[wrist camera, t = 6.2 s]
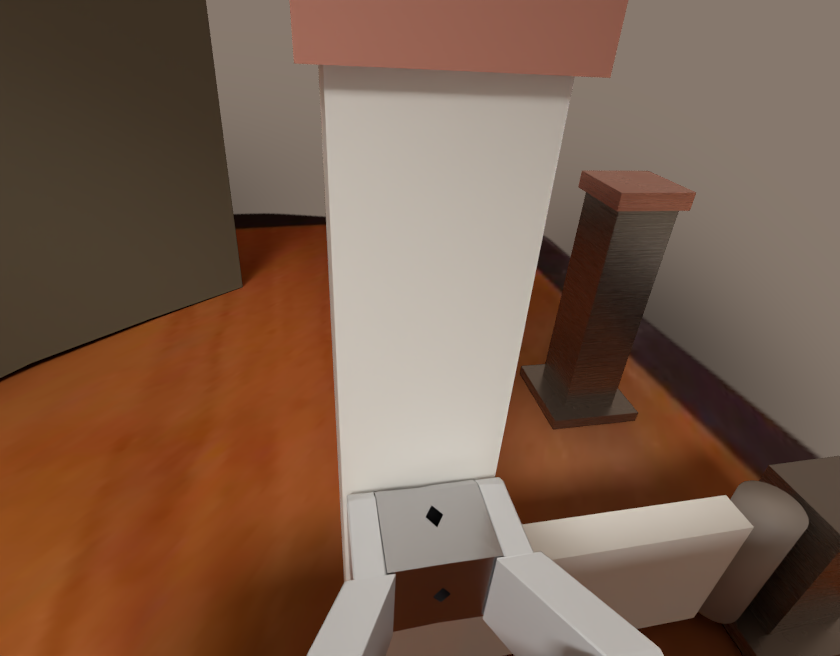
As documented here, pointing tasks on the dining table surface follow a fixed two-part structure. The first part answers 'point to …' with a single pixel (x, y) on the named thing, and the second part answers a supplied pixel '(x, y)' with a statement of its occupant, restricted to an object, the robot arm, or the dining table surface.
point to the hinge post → (800, 572)
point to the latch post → (605, 295)
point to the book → (107, 171)
